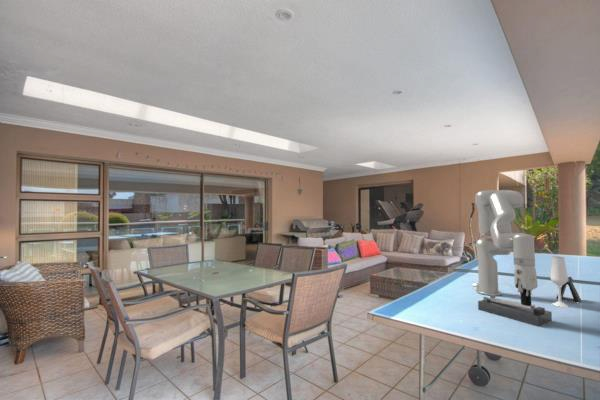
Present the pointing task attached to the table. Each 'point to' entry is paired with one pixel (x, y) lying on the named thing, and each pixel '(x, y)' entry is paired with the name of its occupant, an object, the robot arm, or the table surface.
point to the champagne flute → (559, 276)
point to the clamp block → (516, 312)
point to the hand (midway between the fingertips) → (526, 304)
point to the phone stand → (572, 289)
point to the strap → (510, 303)
